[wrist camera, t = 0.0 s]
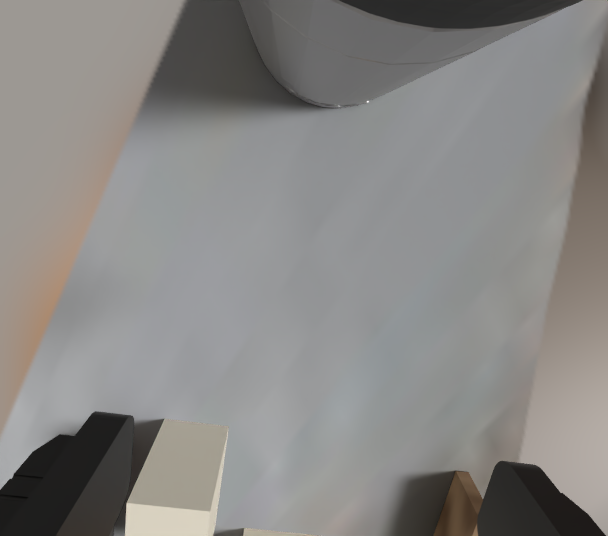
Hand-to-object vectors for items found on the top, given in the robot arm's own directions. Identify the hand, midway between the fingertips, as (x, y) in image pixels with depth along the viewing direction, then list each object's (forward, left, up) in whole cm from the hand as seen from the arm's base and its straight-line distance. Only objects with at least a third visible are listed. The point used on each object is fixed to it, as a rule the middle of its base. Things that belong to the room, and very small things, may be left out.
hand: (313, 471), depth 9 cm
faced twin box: (+18, -5, -17) cm, 25 cm away
